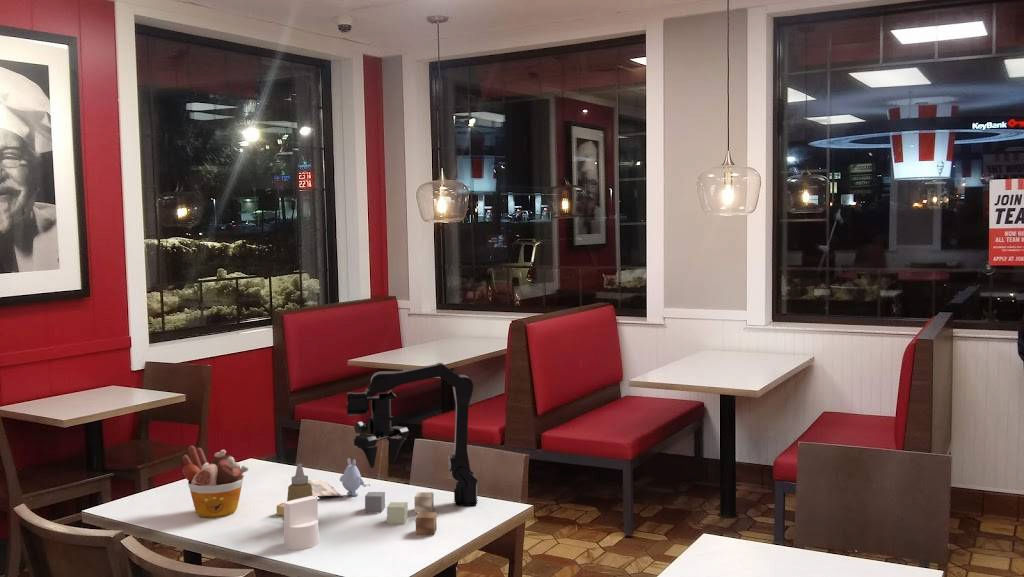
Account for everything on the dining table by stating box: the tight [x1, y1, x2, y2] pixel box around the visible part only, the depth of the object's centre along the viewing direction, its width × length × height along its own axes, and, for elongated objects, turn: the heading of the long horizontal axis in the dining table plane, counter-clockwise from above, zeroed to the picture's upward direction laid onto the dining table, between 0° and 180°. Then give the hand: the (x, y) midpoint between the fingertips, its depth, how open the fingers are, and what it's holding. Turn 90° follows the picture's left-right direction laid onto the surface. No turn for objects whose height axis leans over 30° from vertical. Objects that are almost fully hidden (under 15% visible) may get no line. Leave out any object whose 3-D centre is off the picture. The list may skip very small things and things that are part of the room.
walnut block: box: [415, 511, 438, 536], centre depth 248 cm, size 5×5×5 cm
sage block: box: [386, 501, 409, 525], centre depth 259 cm, size 5×5×5 cm
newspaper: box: [308, 479, 343, 501], centre depth 292 cm, size 23×12×2 cm, turn 25°
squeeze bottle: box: [286, 463, 313, 502], centre depth 254 cm, size 8×8×18 cm
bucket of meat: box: [181, 445, 249, 519], centre depth 269 cm, size 20×16×20 cm
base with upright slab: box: [283, 496, 320, 551], centre depth 239 cm, size 9×9×12 cm
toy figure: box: [339, 457, 365, 497], centre depth 287 cm, size 11×6×12 cm, turn 55°
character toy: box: [276, 502, 284, 517], centre depth 267 cm, size 8×3×8 cm
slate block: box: [364, 491, 386, 514], centre depth 271 cm, size 5×5×5 cm
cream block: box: [413, 491, 435, 513], centre depth 270 cm, size 5×5×5 cm
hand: (382, 464), depth 272 cm, fingers open, 9 cm apart
